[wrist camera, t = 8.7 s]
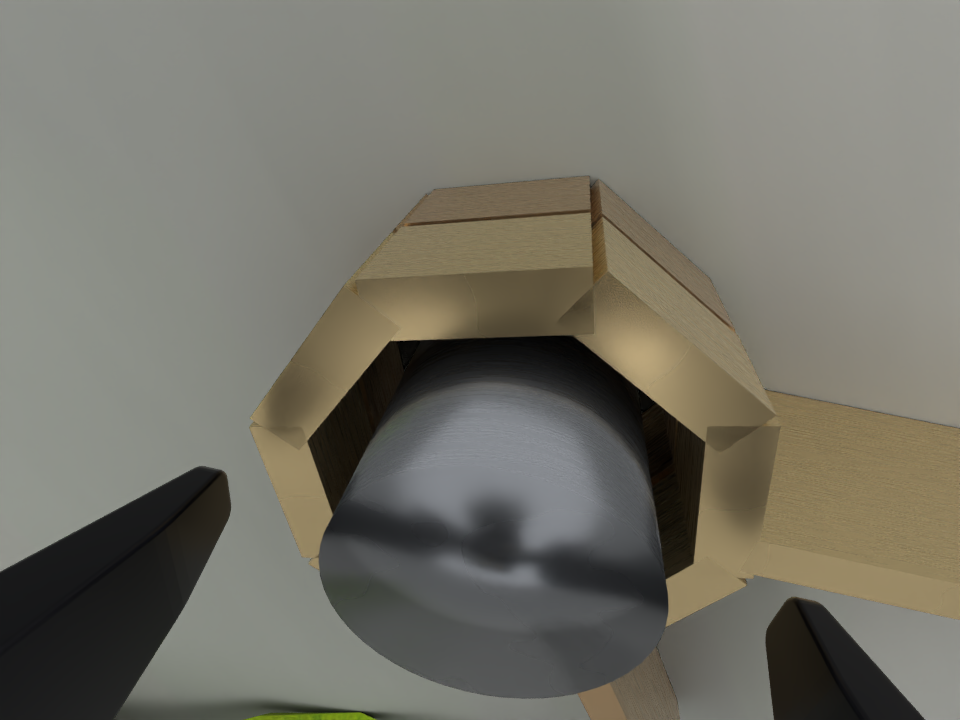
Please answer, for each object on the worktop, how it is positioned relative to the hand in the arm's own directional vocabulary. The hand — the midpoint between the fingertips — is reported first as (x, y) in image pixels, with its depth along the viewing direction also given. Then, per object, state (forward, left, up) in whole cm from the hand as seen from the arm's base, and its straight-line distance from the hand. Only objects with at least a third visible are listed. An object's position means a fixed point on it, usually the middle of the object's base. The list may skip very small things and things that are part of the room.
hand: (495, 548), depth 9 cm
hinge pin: (0, 0, -6) cm, 6 cm away
